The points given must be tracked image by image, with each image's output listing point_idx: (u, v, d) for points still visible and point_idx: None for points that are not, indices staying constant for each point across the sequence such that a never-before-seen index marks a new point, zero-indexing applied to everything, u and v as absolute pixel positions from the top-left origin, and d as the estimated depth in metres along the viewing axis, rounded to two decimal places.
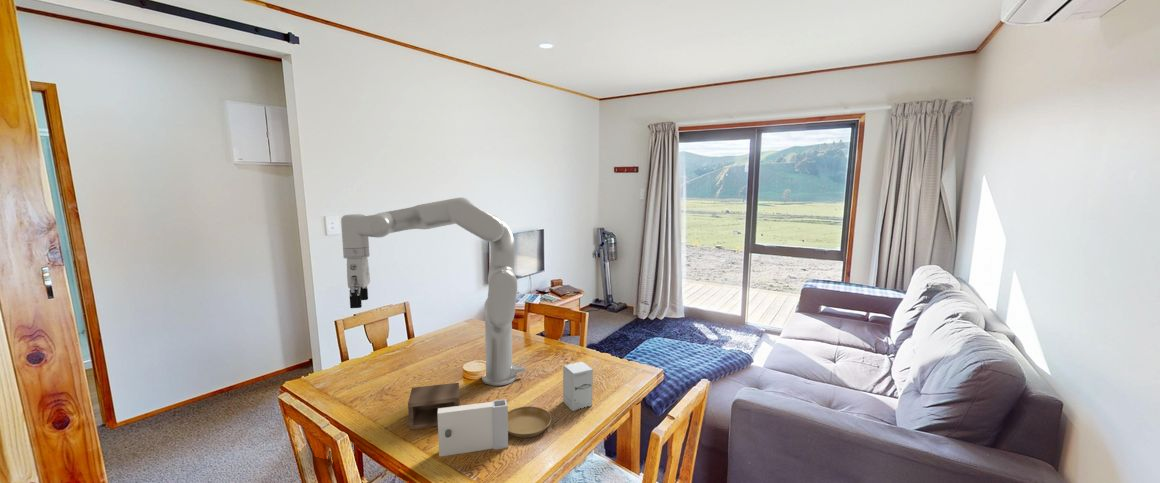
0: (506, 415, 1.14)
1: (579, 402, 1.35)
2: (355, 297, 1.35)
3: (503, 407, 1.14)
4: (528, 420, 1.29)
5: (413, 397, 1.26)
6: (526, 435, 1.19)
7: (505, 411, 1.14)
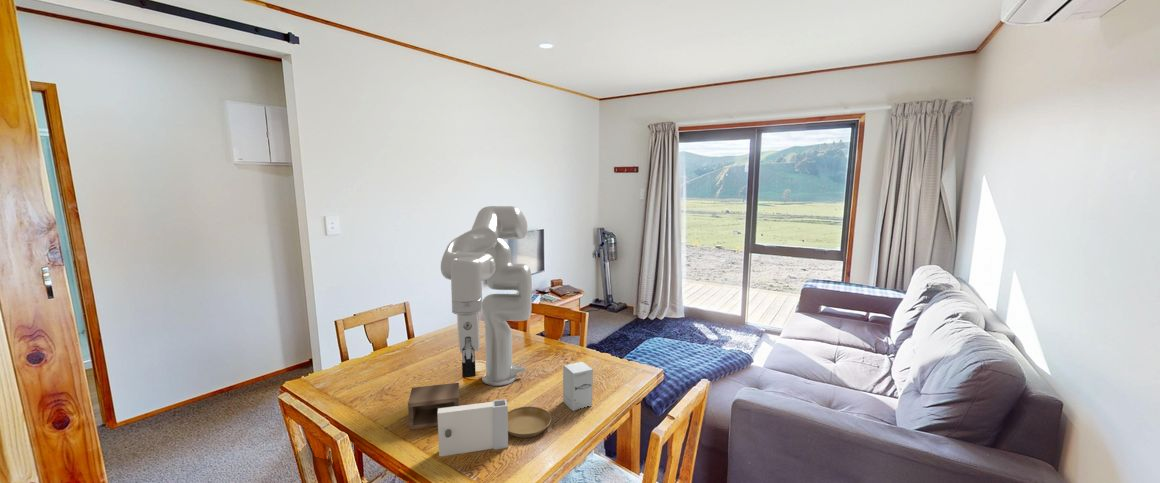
0: (506, 415, 1.14)
1: (579, 402, 1.35)
2: (469, 364, 1.06)
3: (503, 407, 1.14)
4: (528, 420, 1.29)
5: (413, 397, 1.26)
6: (526, 435, 1.19)
7: (505, 411, 1.14)
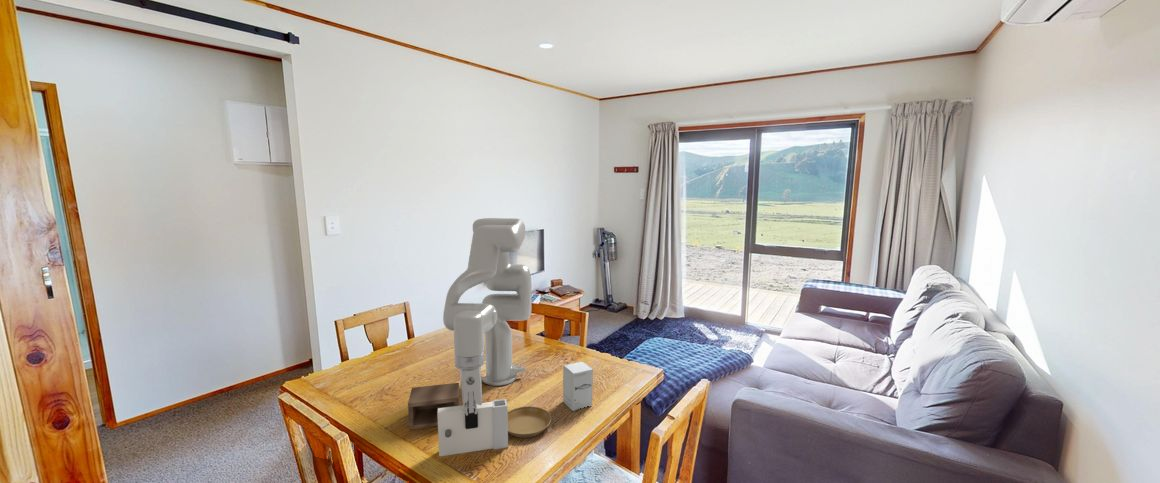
0: (506, 415, 1.15)
1: (579, 402, 1.35)
2: (472, 416, 1.11)
3: (503, 407, 1.14)
4: (528, 420, 1.29)
5: (413, 397, 1.26)
6: (526, 435, 1.19)
7: (505, 411, 1.14)
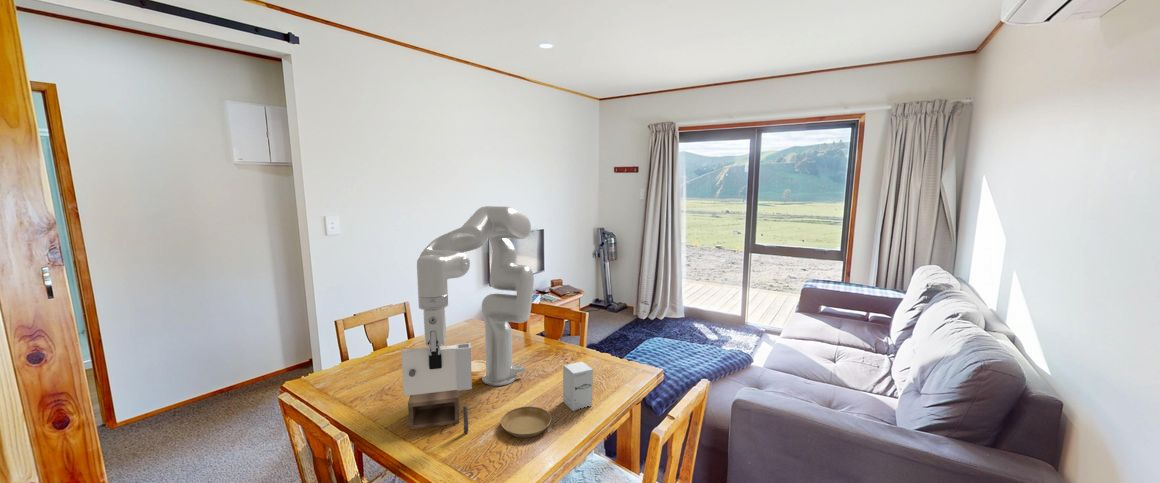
0: (469, 357, 1.18)
1: (579, 402, 1.35)
2: (436, 356, 1.15)
3: (466, 349, 1.17)
4: (528, 420, 1.29)
5: (413, 397, 1.26)
6: (526, 435, 1.19)
7: (468, 353, 1.18)
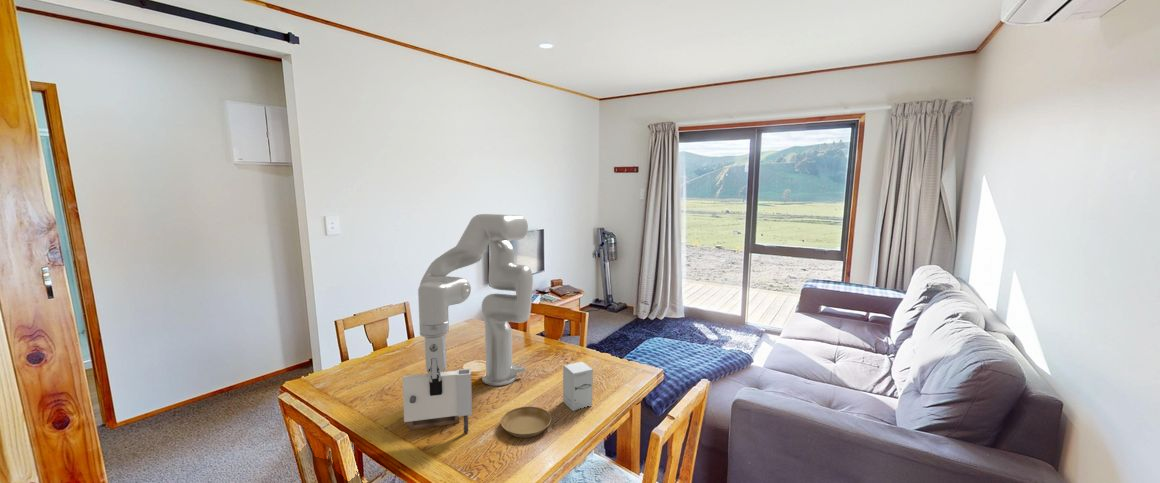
0: (470, 383, 1.19)
1: (579, 402, 1.35)
2: (436, 383, 1.16)
3: (467, 375, 1.18)
4: (528, 420, 1.29)
5: None
6: (526, 435, 1.19)
7: (469, 379, 1.19)
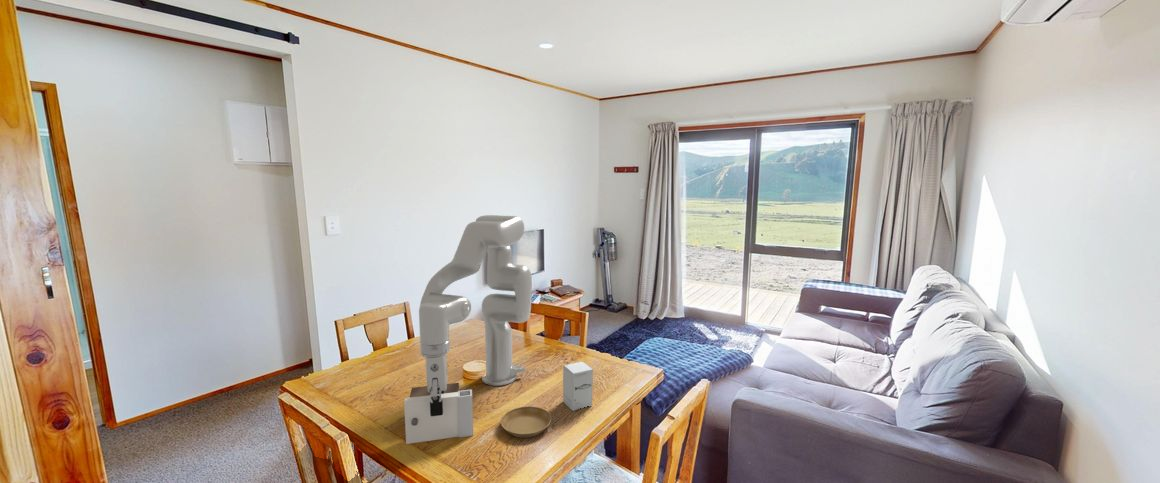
0: (471, 404, 1.20)
1: (579, 402, 1.35)
2: (437, 404, 1.14)
3: (468, 397, 1.19)
4: (528, 420, 1.29)
5: None
6: (526, 435, 1.19)
7: (470, 401, 1.20)
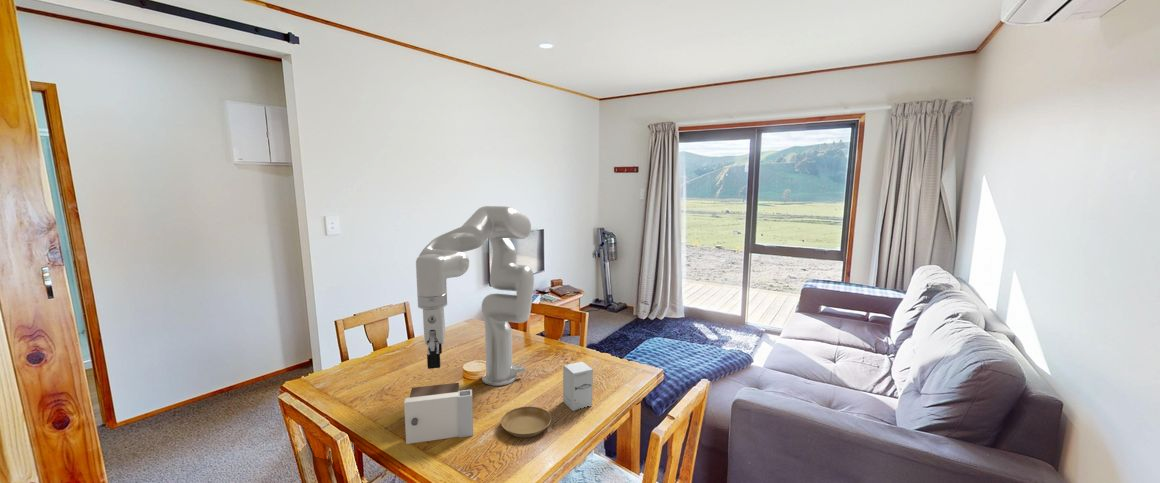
0: (471, 404, 1.20)
1: (579, 402, 1.35)
2: (434, 356, 1.12)
3: (468, 397, 1.19)
4: (528, 420, 1.29)
5: None
6: (526, 435, 1.19)
7: (470, 401, 1.20)
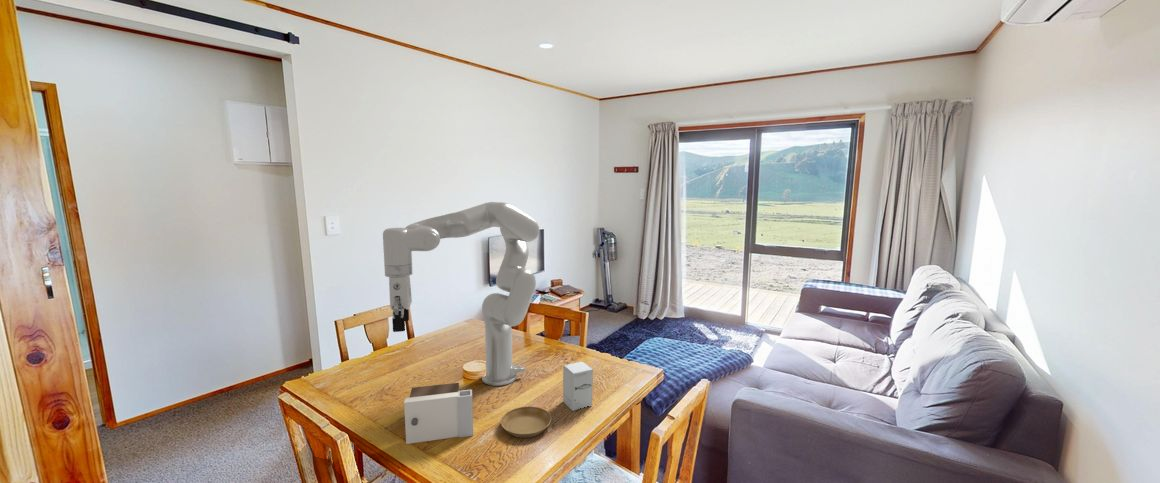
0: (471, 404, 1.20)
1: (579, 402, 1.35)
2: (399, 320, 1.22)
3: (468, 397, 1.19)
4: (528, 420, 1.29)
5: None
6: (526, 435, 1.19)
7: (470, 401, 1.20)
